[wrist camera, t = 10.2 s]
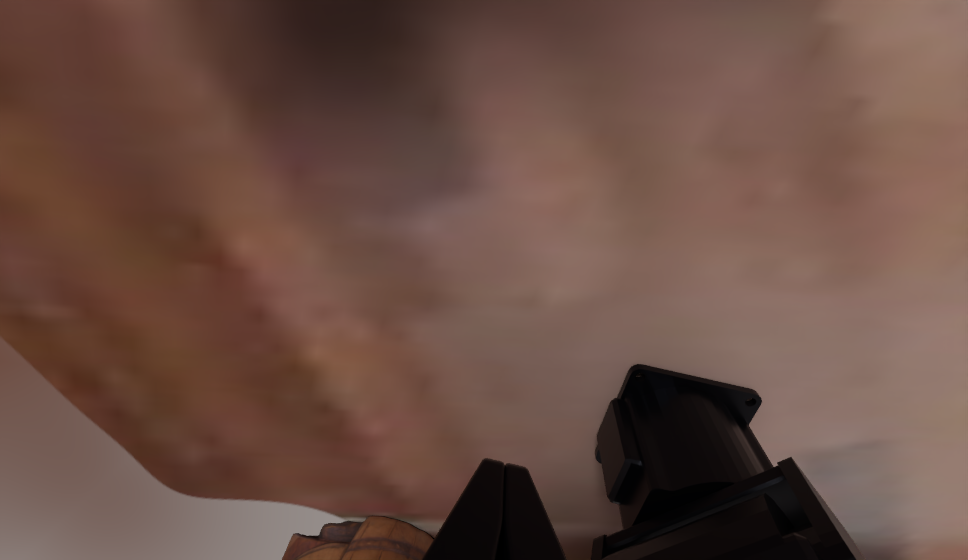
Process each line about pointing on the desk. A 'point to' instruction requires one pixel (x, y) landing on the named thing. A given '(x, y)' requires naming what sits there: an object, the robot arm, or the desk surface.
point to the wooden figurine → (361, 541)
